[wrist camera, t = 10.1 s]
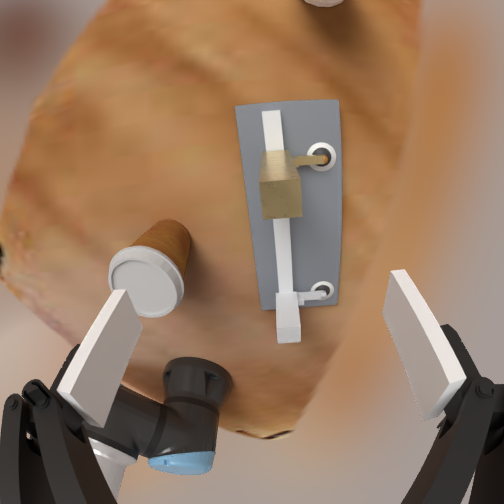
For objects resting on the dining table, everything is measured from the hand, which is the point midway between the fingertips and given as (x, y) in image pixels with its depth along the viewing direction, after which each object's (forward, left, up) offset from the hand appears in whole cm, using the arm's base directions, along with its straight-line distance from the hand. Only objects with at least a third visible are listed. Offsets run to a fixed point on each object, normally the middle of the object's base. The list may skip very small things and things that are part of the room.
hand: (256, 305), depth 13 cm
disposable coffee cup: (-8, +14, -25) cm, 30 cm away
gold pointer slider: (+2, -4, -23) cm, 23 cm away
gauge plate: (-6, -4, -25) cm, 26 cm away
